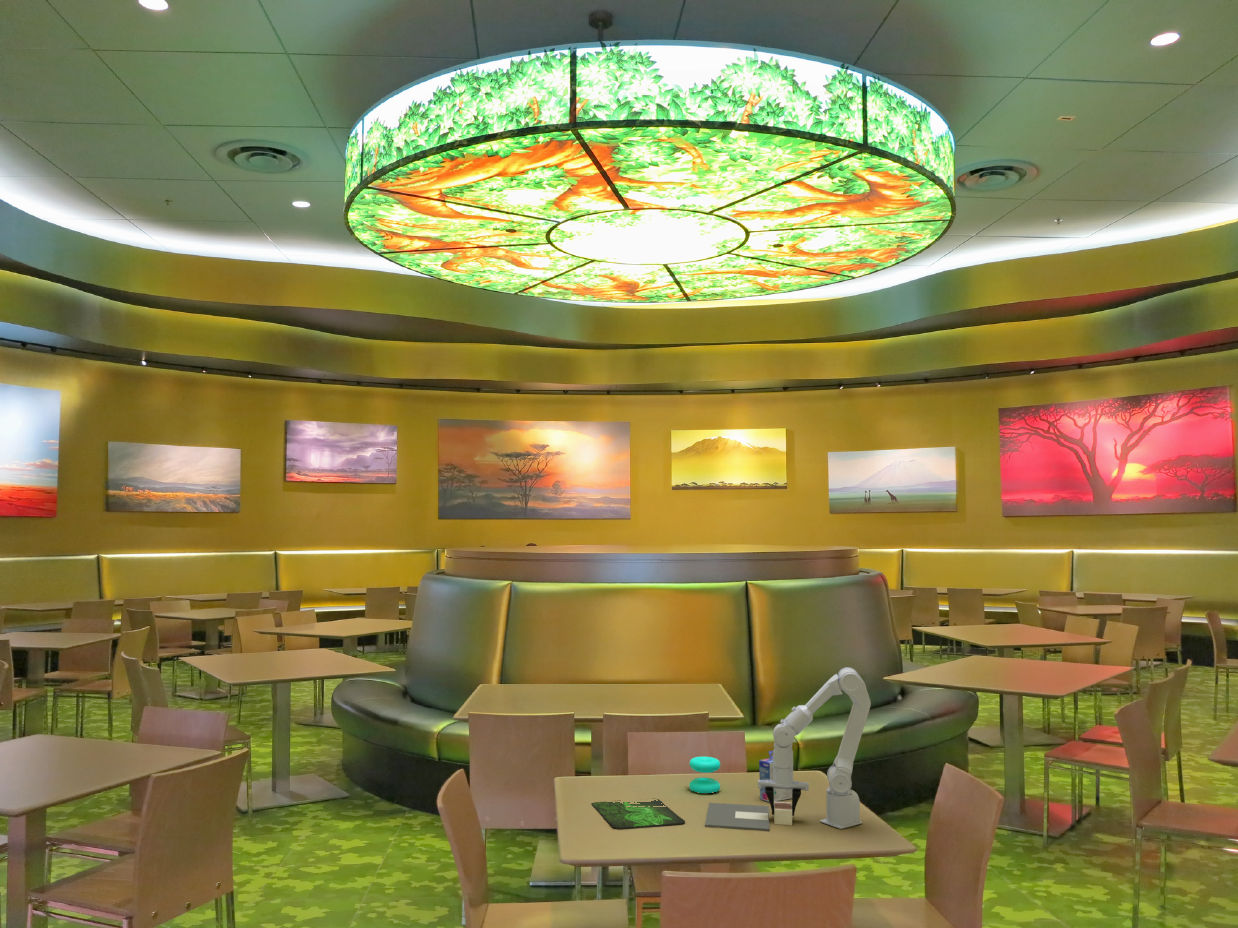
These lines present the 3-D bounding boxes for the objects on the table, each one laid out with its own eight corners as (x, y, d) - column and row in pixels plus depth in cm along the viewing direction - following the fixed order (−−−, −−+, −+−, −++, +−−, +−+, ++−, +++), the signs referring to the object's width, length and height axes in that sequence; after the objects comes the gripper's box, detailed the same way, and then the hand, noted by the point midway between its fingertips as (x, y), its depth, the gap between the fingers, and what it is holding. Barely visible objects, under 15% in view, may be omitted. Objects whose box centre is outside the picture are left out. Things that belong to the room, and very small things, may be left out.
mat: (768, 808, 277) (768, 805, 277) (769, 830, 256) (769, 828, 256) (709, 804, 280) (709, 802, 280) (704, 826, 258) (704, 824, 258)
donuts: (687, 761, 292) (692, 754, 302) (686, 793, 292) (691, 785, 301) (718, 763, 290) (722, 756, 300) (718, 796, 289) (721, 787, 299)
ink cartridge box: (781, 794, 293) (781, 748, 294) (793, 798, 288) (793, 751, 289) (758, 798, 287) (758, 751, 288) (770, 803, 283) (770, 755, 284)
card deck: (791, 816, 270) (791, 802, 270) (792, 824, 261) (792, 810, 262) (774, 815, 270) (774, 801, 271) (774, 823, 262) (774, 809, 262)
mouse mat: (588, 803, 280) (588, 800, 280) (656, 798, 286) (656, 795, 286) (614, 831, 254) (614, 827, 254) (687, 825, 260) (687, 821, 260)
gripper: (807, 764, 270) (807, 811, 269) (758, 761, 272) (757, 808, 271) (808, 770, 263) (808, 818, 262) (758, 767, 265) (757, 815, 264)
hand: (782, 814), depth 266 cm, fingers closed on card deck, 5 cm apart
